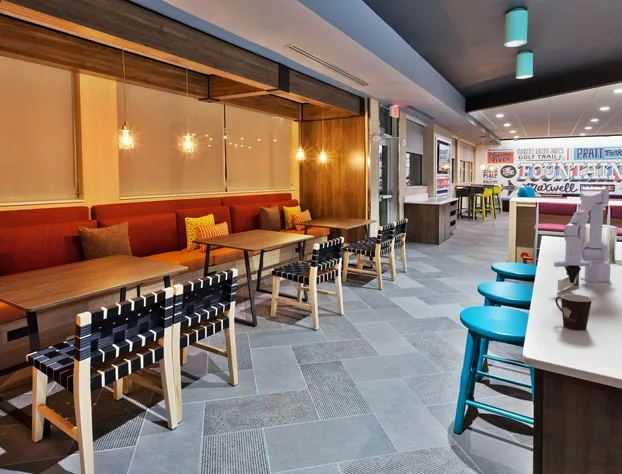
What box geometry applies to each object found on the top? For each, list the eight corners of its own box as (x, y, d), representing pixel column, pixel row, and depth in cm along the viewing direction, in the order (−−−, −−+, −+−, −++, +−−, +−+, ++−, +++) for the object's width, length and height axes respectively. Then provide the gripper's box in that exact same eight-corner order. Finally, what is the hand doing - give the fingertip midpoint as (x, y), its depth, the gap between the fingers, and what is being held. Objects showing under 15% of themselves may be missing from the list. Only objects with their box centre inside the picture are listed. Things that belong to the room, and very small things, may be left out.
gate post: (564, 280, 196) (565, 268, 195) (570, 280, 196) (570, 268, 195) (574, 285, 188) (574, 272, 187) (579, 285, 187) (580, 272, 187)
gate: (572, 283, 188) (572, 272, 187) (576, 284, 187) (576, 273, 186) (557, 290, 178) (558, 279, 178) (561, 291, 177) (562, 279, 176)
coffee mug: (595, 332, 132) (597, 301, 130) (565, 331, 134) (566, 301, 132) (579, 320, 143) (581, 292, 142) (552, 319, 145) (553, 291, 143)
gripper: (560, 253, 174) (558, 285, 176) (596, 253, 173) (594, 284, 174) (552, 250, 181) (550, 281, 183) (587, 250, 180) (585, 280, 181)
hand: (571, 282), depth 179 cm, fingers closed
